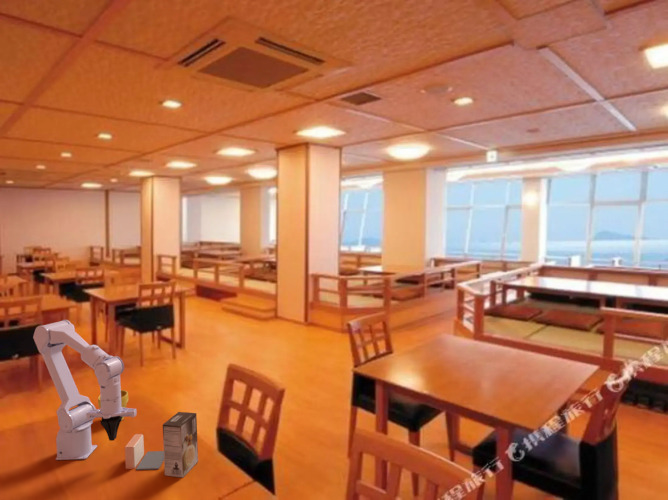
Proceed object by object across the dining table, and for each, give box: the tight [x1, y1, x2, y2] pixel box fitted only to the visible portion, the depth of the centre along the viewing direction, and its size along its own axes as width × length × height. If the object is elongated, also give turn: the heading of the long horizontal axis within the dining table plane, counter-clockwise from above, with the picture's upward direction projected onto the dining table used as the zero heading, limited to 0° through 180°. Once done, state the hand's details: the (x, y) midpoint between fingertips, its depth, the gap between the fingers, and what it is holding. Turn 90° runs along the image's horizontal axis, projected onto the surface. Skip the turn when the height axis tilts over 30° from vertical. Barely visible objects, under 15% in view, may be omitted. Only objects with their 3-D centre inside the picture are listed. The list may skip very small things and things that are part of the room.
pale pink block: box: [124, 433, 145, 470], centre depth 141 cm, size 3×8×7 cm, turn 3°
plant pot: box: [97, 389, 129, 422], centre depth 170 cm, size 10×10×10 cm
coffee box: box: [162, 411, 199, 478], centre depth 137 cm, size 9×6×16 cm
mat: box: [135, 450, 164, 471], centre depth 142 cm, size 7×10×1 cm
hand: (112, 439), depth 141 cm, fingers closed
